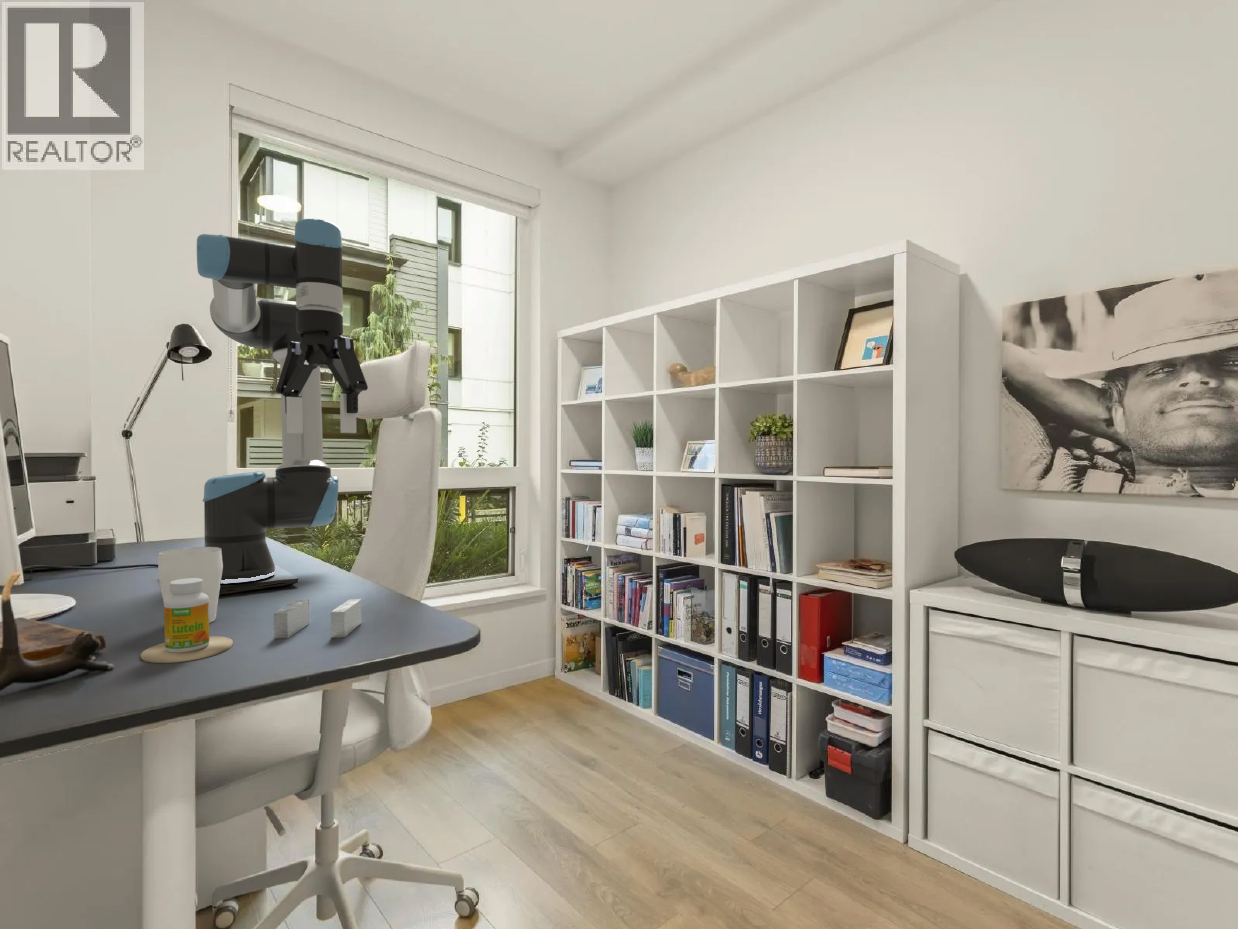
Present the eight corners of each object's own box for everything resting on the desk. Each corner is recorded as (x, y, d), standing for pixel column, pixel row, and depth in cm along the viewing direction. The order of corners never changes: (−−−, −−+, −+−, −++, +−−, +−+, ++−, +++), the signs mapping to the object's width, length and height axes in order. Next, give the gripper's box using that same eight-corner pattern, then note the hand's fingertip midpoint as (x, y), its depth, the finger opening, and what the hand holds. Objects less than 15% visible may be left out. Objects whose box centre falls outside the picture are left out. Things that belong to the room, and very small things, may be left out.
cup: (192, 632, 102) (190, 556, 102) (144, 628, 104) (143, 554, 104) (236, 617, 111) (235, 547, 111) (192, 614, 113) (190, 545, 113)
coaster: (172, 639, 98) (172, 636, 98) (247, 638, 99) (247, 635, 99) (121, 664, 87) (121, 661, 87) (206, 662, 88) (206, 659, 88)
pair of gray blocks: (296, 624, 107) (296, 600, 107) (361, 623, 108) (361, 599, 107) (274, 638, 99) (273, 612, 99) (344, 637, 100) (344, 611, 99)
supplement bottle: (167, 656, 89) (165, 586, 89) (162, 647, 93) (161, 580, 93) (212, 648, 93) (211, 581, 92) (206, 639, 97) (205, 575, 97)
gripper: (253, 314, 115) (255, 433, 116) (353, 300, 104) (354, 432, 105) (290, 321, 122) (292, 433, 123) (388, 309, 111) (389, 433, 112)
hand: (321, 433), depth 114 cm, fingers open, 13 cm apart
